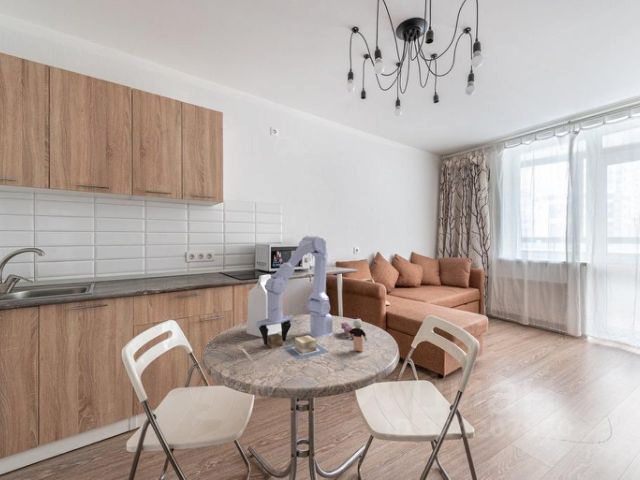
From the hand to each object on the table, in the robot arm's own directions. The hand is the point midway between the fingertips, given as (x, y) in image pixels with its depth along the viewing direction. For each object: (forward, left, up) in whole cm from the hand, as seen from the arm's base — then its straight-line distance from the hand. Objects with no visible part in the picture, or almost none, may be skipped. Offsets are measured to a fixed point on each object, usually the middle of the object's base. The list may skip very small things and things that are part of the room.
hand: (274, 342), depth 115 cm
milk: (-3, -19, -2) cm, 19 cm away
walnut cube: (0, 0, -2) cm, 2 cm away
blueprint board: (-9, +10, -2) cm, 13 cm away
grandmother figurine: (-25, +21, -2) cm, 33 cm away
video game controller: (-33, +5, -2) cm, 33 cm away
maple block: (-9, +10, -1) cm, 13 cm away
